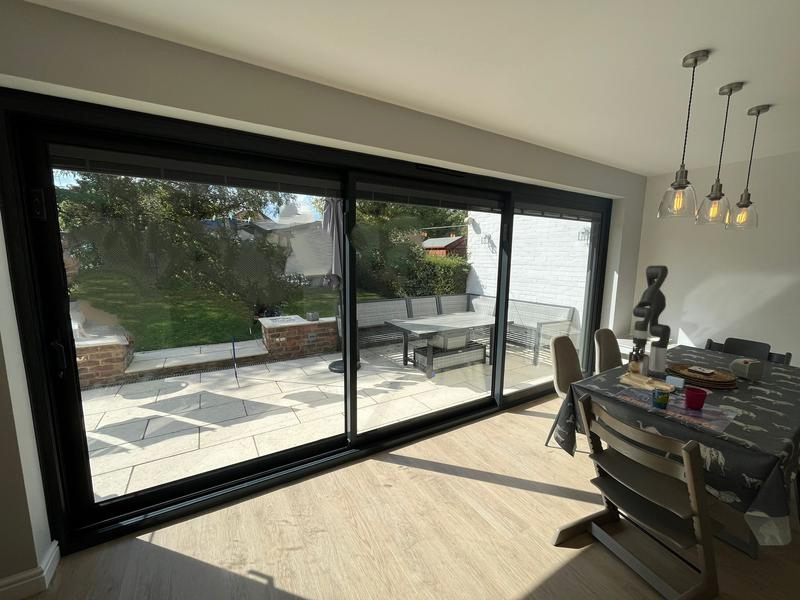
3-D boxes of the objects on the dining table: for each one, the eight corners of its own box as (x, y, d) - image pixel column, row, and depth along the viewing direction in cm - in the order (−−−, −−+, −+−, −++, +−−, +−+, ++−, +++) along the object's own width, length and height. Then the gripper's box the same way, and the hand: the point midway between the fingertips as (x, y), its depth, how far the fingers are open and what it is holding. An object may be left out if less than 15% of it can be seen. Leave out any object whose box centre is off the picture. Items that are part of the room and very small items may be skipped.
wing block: (667, 383, 210) (668, 375, 210) (683, 387, 204) (684, 379, 203) (665, 384, 208) (666, 376, 207) (681, 388, 201) (682, 380, 201)
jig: (628, 377, 219) (628, 372, 218) (674, 389, 199) (675, 383, 198) (619, 381, 211) (620, 375, 211) (667, 394, 191) (668, 388, 191)
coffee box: (626, 375, 224) (628, 352, 222) (632, 373, 227) (634, 351, 225) (641, 379, 216) (643, 355, 214) (647, 378, 219) (649, 354, 217)
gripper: (637, 334, 225) (635, 357, 227) (629, 337, 217) (626, 360, 219) (651, 336, 219) (648, 360, 221) (642, 339, 211) (640, 363, 213)
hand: (637, 360), depth 220 cm, fingers open, 8 cm apart
